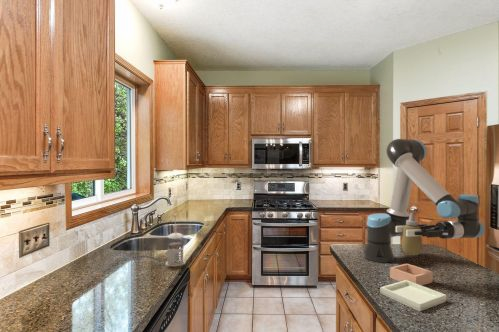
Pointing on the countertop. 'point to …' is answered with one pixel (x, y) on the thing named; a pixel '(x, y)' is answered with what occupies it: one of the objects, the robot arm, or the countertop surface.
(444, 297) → the tray
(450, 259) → the countertop surface
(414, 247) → the squeeze bottle
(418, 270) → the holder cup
